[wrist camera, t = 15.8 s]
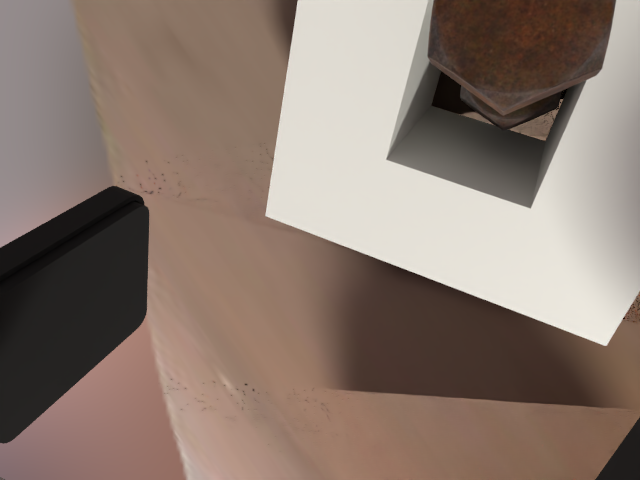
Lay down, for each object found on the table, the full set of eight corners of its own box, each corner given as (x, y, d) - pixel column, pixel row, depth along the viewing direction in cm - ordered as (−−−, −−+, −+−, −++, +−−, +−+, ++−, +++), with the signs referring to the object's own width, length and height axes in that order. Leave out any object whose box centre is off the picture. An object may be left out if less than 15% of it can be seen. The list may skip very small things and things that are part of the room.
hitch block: (796, -102, 24) (881, -106, 17) (604, 252, 34) (606, 346, 27) (398, -181, 28) (329, -211, 21) (328, 157, 38) (265, 215, 31)
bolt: (471, 31, 32) (447, -98, 17) (571, 37, 30) (634, -99, 16) (454, 140, 32) (418, 101, 18) (551, 151, 31) (595, 118, 17)
